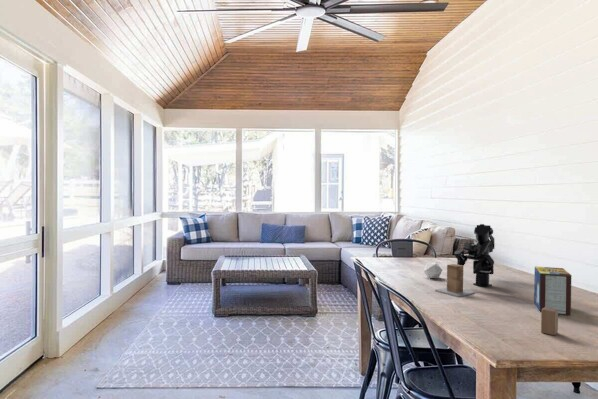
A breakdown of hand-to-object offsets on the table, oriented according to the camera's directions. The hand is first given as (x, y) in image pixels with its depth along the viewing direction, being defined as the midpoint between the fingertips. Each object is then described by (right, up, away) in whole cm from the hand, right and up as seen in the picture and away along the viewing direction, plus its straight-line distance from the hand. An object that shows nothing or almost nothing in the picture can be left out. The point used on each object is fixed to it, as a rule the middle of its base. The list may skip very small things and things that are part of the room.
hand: (465, 271), depth 186 cm
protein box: (+22, -10, -28) cm, 37 cm away
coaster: (-7, -9, -4) cm, 12 cm away
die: (-6, -8, +27) cm, 29 cm away
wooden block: (+4, -10, -56) cm, 57 cm away
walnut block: (-7, -8, -4) cm, 11 cm away
